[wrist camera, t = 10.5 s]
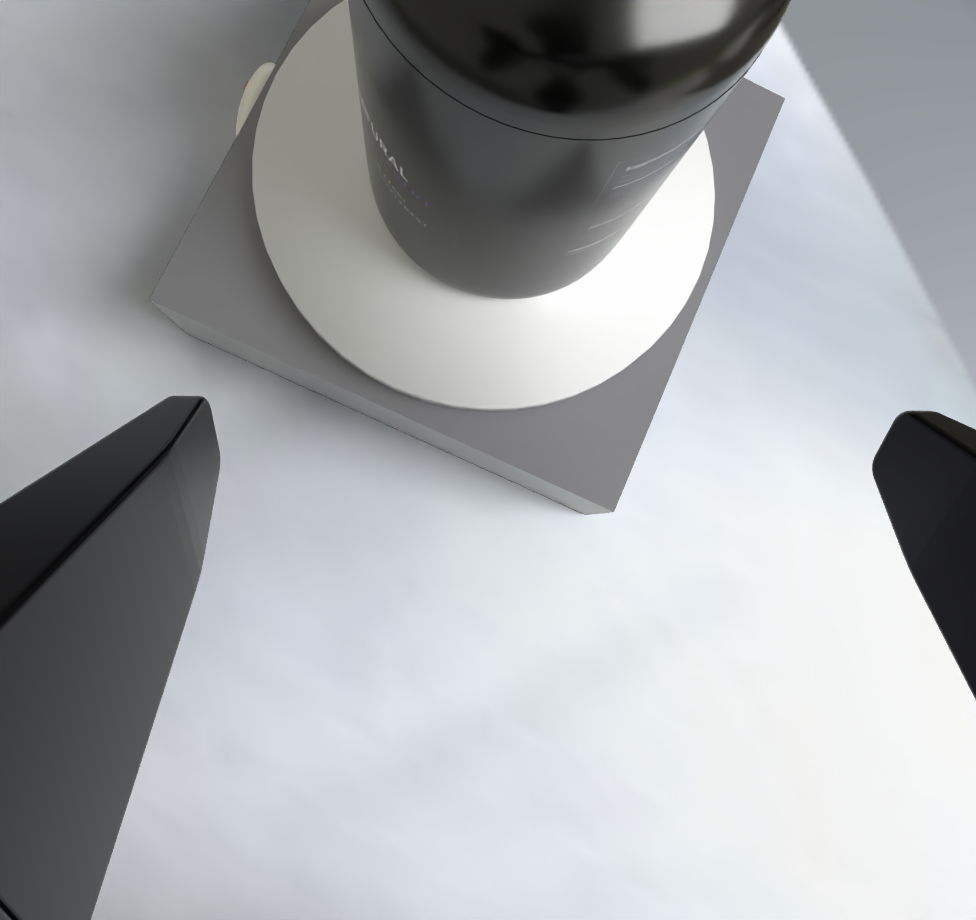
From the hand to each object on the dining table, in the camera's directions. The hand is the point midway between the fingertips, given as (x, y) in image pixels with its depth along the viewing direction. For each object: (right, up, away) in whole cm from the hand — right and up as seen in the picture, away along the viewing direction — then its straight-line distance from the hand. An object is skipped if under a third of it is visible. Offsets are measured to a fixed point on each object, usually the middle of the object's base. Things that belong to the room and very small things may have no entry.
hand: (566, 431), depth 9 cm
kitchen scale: (-1, +7, +13) cm, 14 cm away
